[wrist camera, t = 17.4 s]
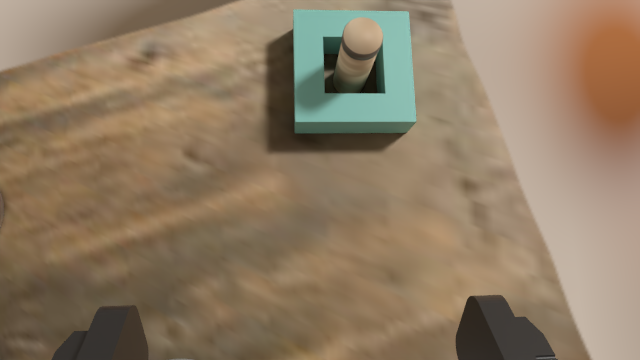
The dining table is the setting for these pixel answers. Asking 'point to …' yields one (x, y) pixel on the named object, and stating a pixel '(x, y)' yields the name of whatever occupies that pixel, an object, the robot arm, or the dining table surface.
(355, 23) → the tan banded cylinder
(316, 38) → the teal square frame
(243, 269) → the dining table surface
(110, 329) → the robot arm
